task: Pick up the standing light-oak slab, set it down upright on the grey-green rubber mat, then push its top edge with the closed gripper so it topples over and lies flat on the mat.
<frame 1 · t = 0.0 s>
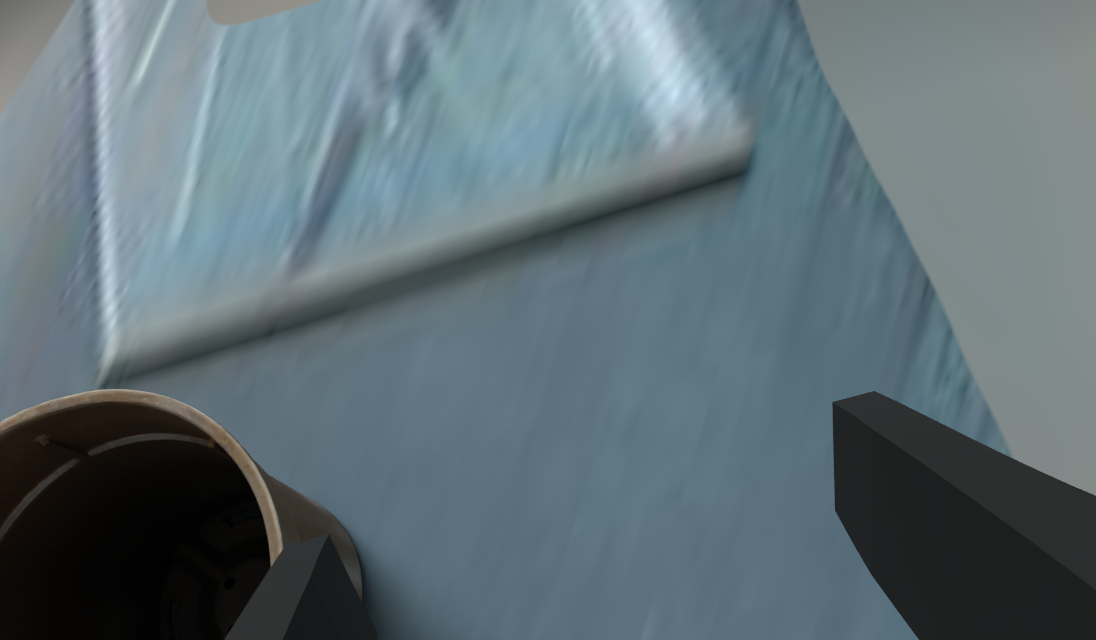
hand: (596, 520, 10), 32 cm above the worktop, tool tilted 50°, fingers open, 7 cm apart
plant pot: (258, 603, 41), on the worktop
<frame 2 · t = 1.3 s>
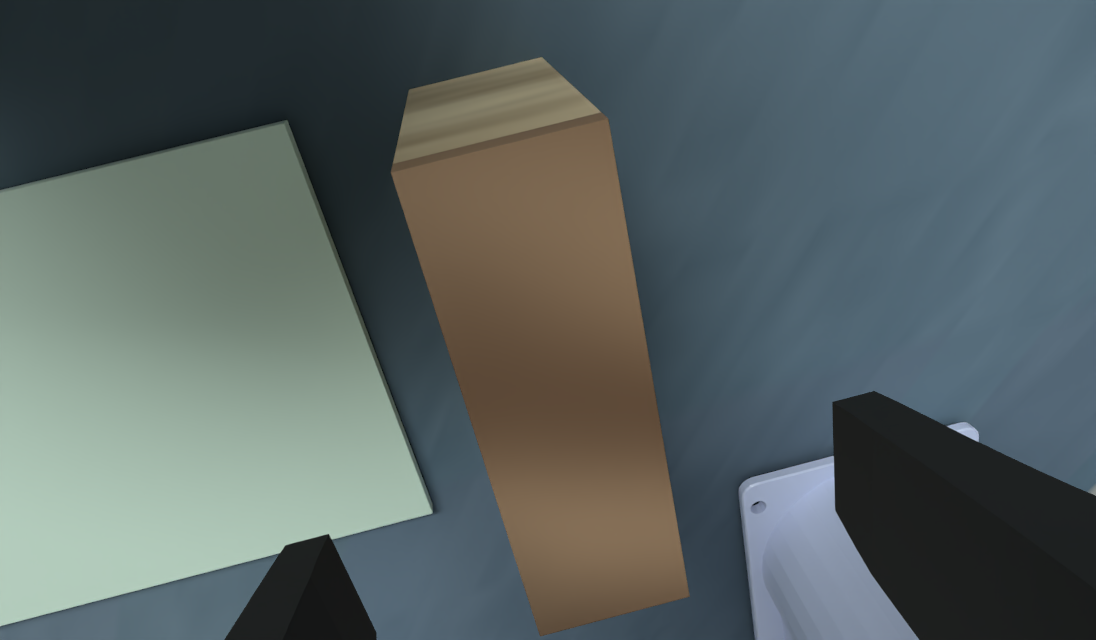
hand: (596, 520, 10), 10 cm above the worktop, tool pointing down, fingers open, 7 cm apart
rubber mat: (97, 408, 19), on the worktop
oak slab: (522, 263, 19), on the worktop
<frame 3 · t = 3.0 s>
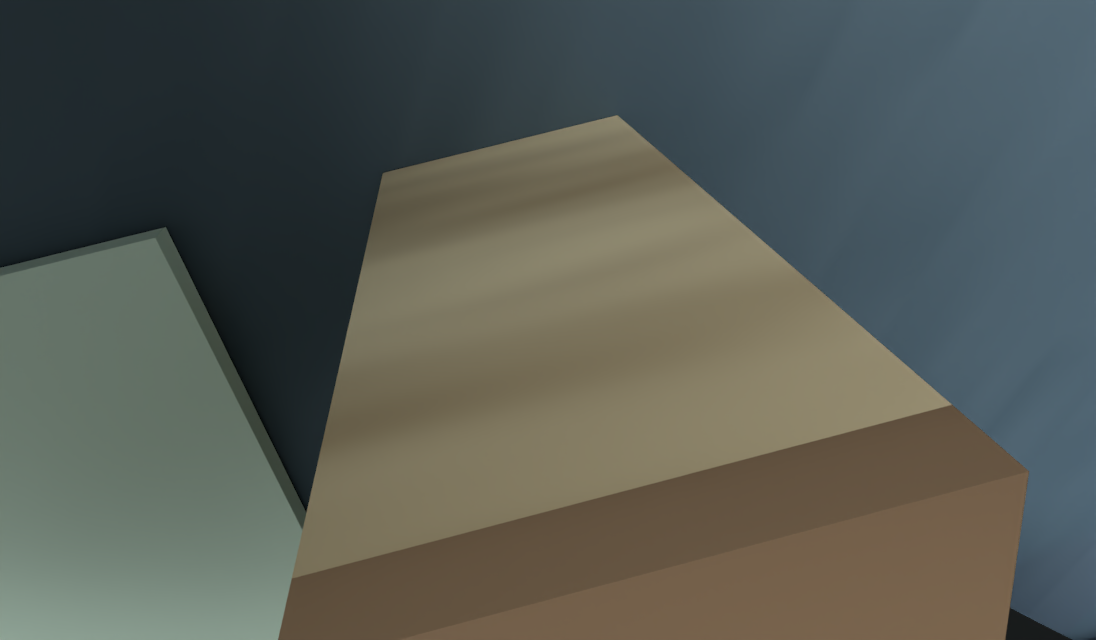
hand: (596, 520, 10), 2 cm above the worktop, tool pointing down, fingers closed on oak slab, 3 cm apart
oak slab: (571, 439, 12), on the worktop, touching gripper
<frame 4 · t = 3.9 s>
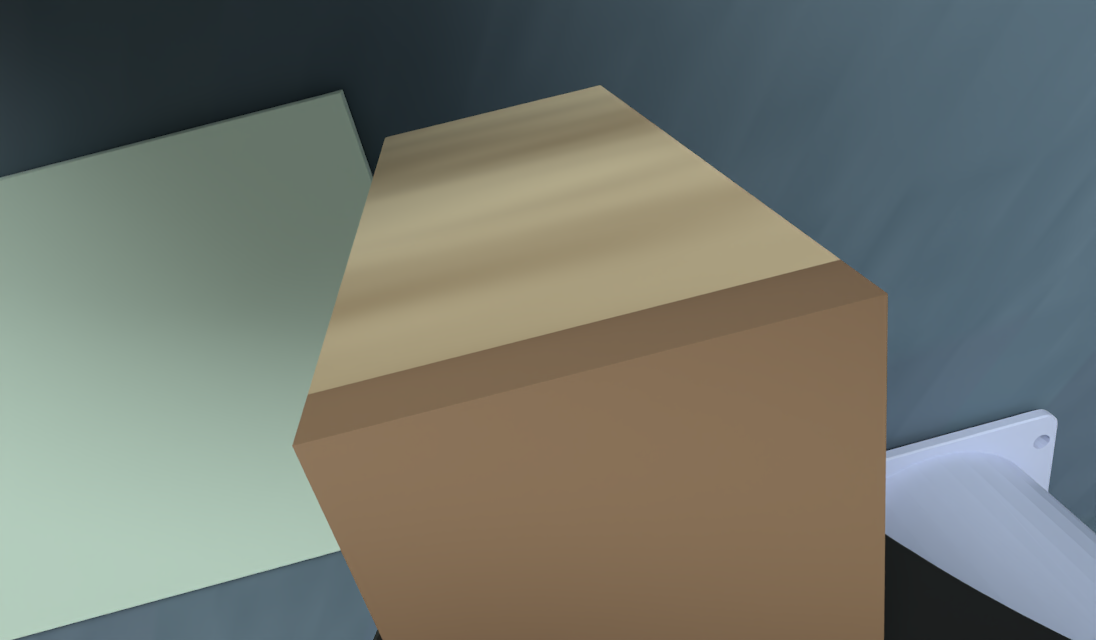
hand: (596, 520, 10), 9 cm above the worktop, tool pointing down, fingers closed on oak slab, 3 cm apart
rubber mat: (136, 403, 18), on the worktop
oak slab: (561, 394, 13), point 6 cm above the worktop, touching gripper
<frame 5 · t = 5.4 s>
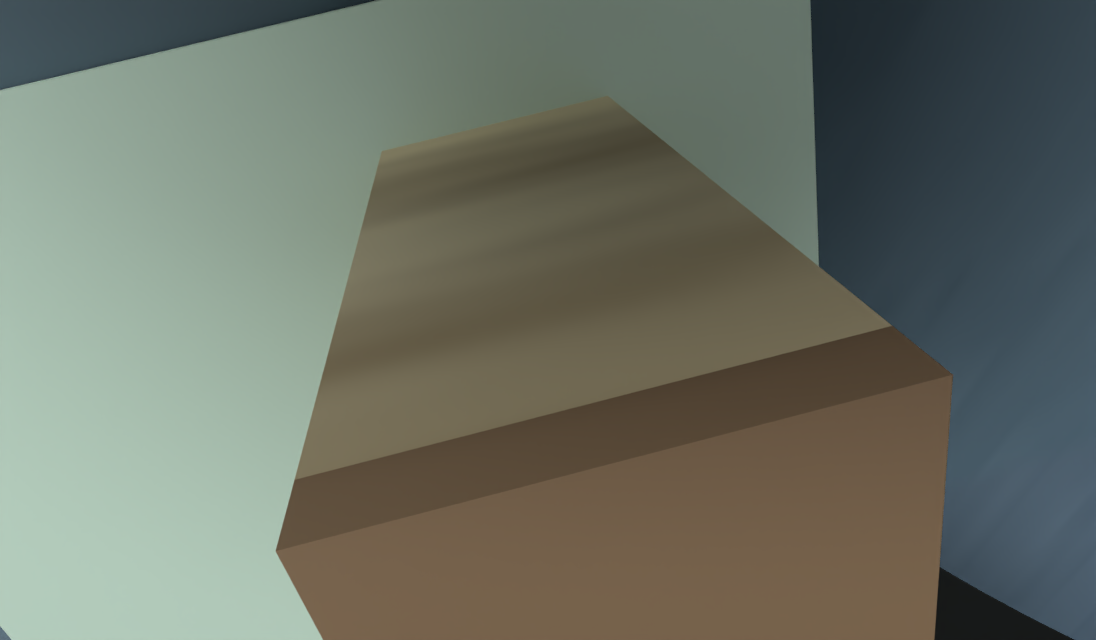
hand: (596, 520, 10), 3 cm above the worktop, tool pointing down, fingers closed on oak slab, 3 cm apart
rubber mat: (382, 406, 12), on the worktop
oak slab: (565, 414, 12), resting on rubber mat, touching gripper
when the fingers open (3 cm above the worktop, at t = 5.8 s): oak slab stays where it is, resting on rubber mat.
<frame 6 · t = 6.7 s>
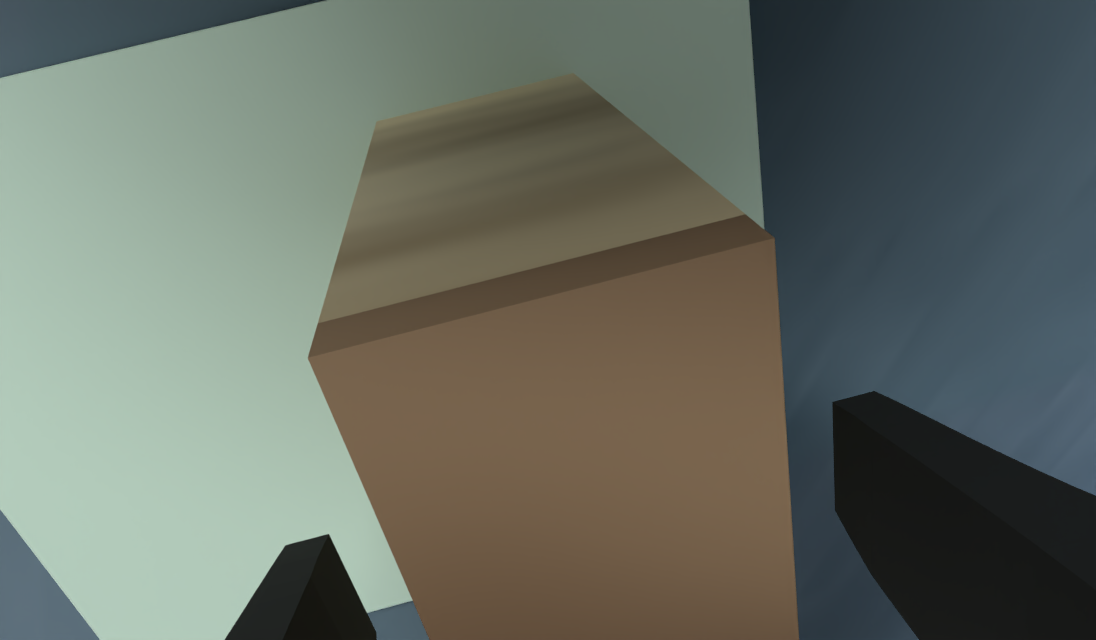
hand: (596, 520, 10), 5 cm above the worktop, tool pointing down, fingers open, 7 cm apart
rubber mat: (377, 353, 14), on the worktop
oak slab: (541, 360, 14), resting on rubber mat
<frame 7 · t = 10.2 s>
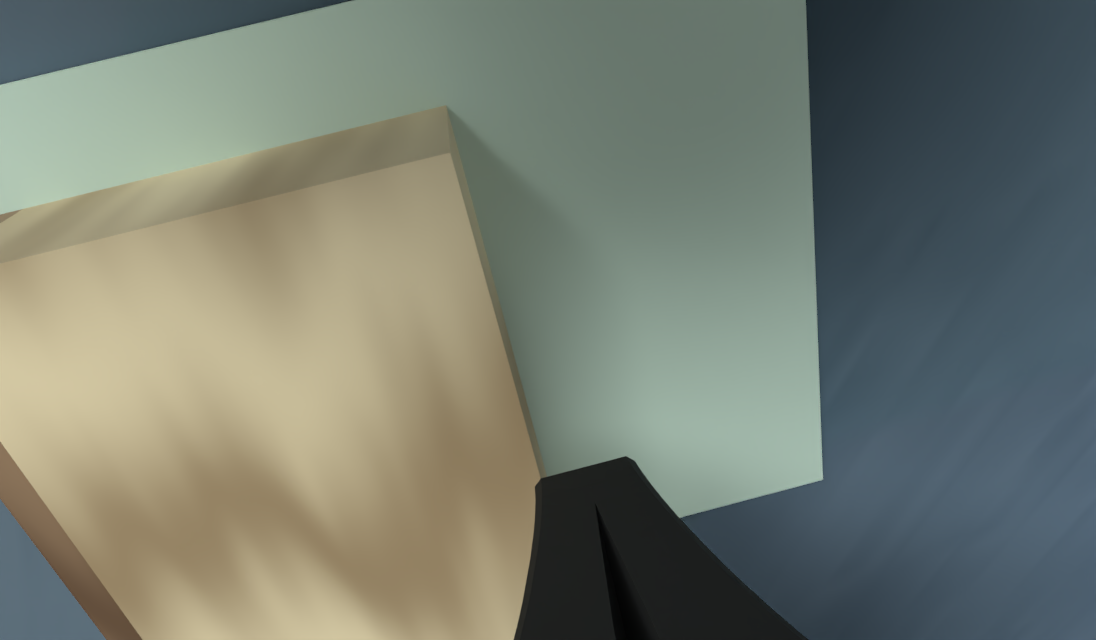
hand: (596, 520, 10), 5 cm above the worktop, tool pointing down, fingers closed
rubber mat: (437, 331, 14), on the worktop
oak slab: (524, 404, 13), point 2 cm above the worktop, tilted 90°, touching rubber mat
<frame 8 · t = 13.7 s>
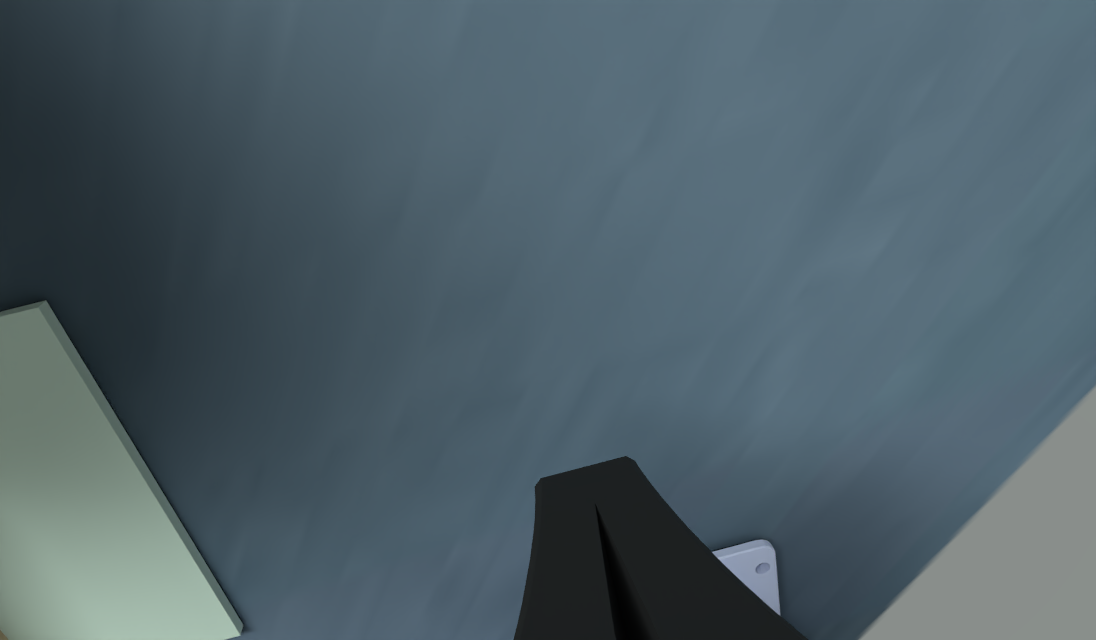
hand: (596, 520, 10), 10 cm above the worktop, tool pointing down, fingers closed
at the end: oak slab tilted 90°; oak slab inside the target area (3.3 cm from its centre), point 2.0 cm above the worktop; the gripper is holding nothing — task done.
